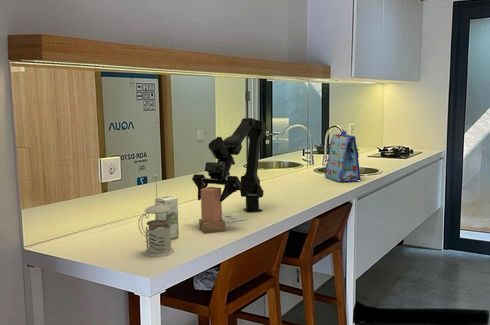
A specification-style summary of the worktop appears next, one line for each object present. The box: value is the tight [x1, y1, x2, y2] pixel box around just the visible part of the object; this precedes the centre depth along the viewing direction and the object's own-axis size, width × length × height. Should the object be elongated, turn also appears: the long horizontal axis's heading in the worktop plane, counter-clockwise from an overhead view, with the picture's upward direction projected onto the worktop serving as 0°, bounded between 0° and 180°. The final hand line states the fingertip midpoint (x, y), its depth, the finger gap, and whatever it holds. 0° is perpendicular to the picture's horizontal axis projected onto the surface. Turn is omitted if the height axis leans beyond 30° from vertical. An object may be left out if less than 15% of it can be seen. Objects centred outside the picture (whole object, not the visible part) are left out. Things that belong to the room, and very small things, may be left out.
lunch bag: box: [324, 130, 362, 183], centre depth 294 cm, size 22×14×29 cm, turn 15°
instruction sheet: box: [222, 213, 248, 224], centre depth 204 cm, size 12×9×1 cm
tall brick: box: [200, 186, 223, 223], centre depth 185 cm, size 6×6×12 cm
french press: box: [138, 174, 176, 258], centre depth 159 cm, size 10×12×25 cm
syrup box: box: [154, 195, 179, 240], centre depth 176 cm, size 6×6×14 cm
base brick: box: [198, 218, 227, 234], centre depth 186 cm, size 8×8×4 cm
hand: (209, 200), depth 184 cm, fingers open, 9 cm apart
